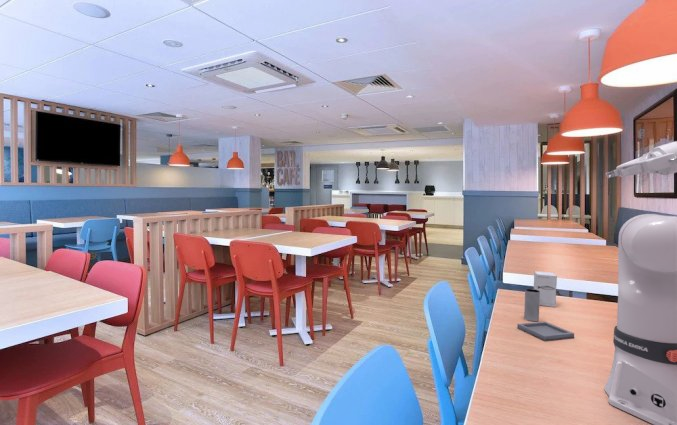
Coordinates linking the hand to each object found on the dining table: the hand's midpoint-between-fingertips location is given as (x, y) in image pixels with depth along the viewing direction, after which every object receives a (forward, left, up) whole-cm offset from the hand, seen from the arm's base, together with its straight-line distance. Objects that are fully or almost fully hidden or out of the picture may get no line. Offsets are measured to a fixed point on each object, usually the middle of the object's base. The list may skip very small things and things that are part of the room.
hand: (614, 174), depth 112 cm
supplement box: (+33, -9, -50) cm, 61 cm away
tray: (+6, +17, -50) cm, 53 cm away
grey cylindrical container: (+18, +11, -50) cm, 55 cm away
